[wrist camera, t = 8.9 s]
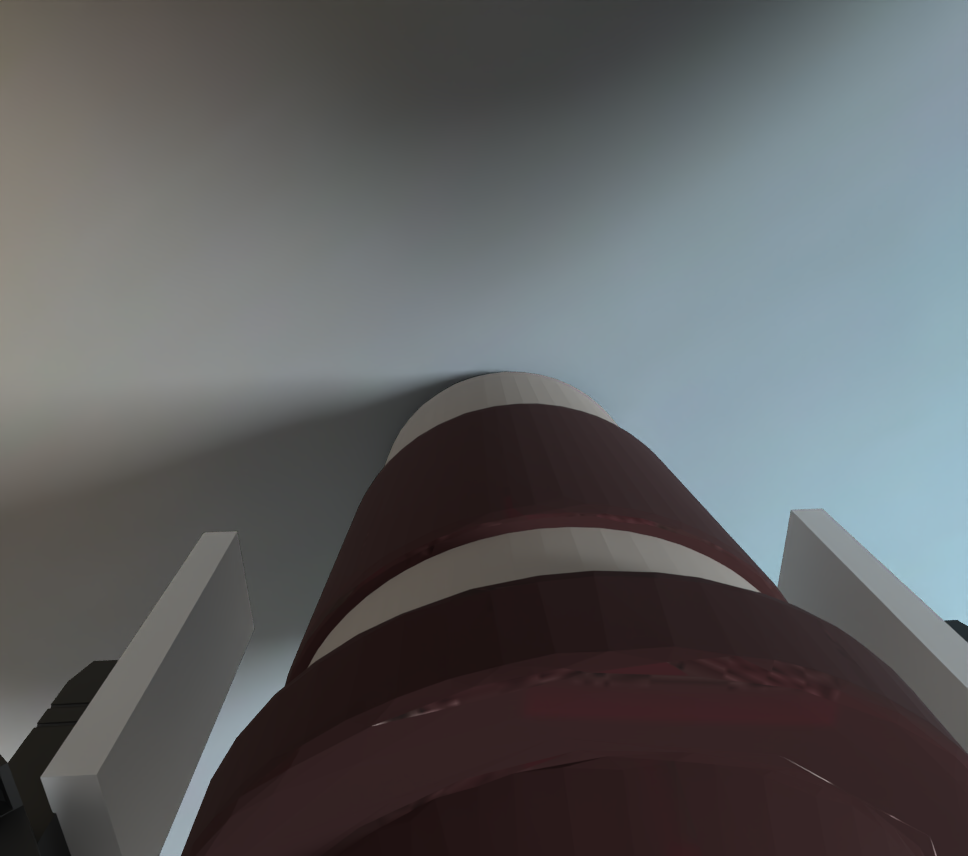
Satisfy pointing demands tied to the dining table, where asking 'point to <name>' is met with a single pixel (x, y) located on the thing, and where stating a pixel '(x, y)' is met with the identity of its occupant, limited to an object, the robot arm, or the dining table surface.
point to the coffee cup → (571, 672)
